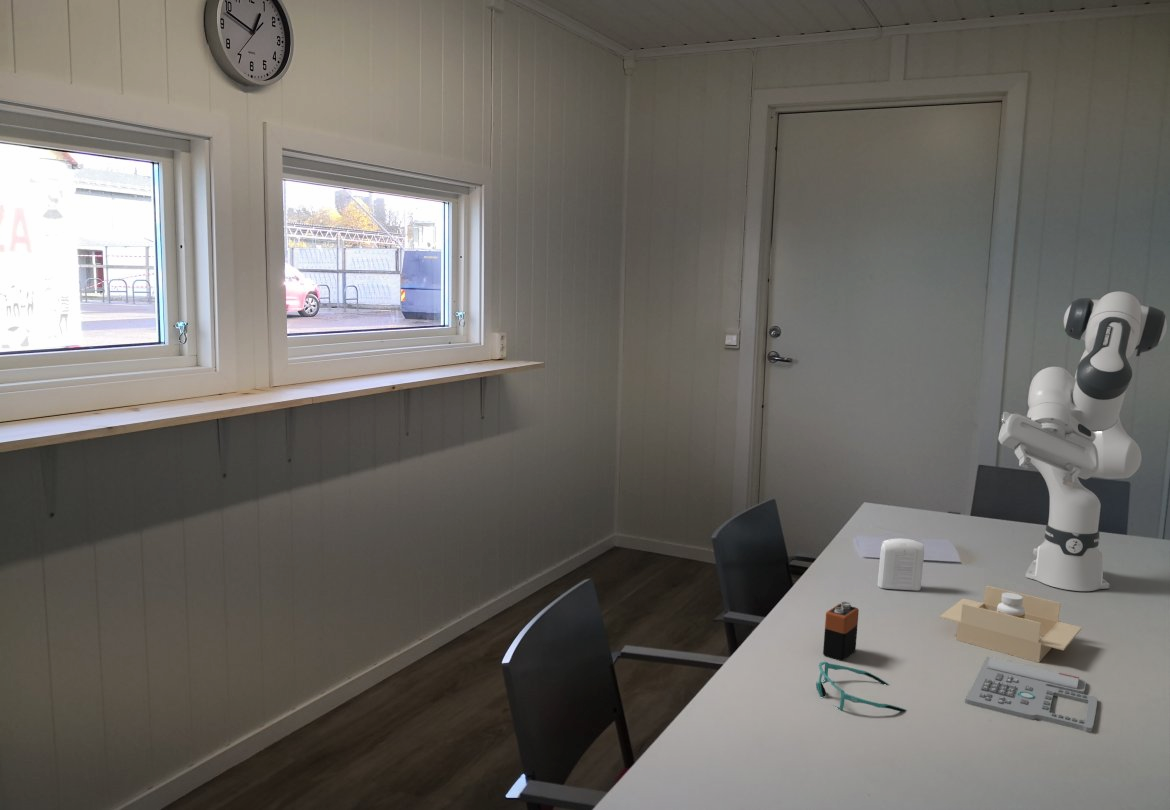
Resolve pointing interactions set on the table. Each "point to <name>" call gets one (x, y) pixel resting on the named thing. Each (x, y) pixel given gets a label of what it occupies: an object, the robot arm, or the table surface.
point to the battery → (840, 631)
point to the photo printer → (901, 564)
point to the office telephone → (1029, 692)
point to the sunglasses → (843, 694)
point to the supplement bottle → (1011, 605)
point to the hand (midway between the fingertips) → (1046, 474)
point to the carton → (1012, 625)
